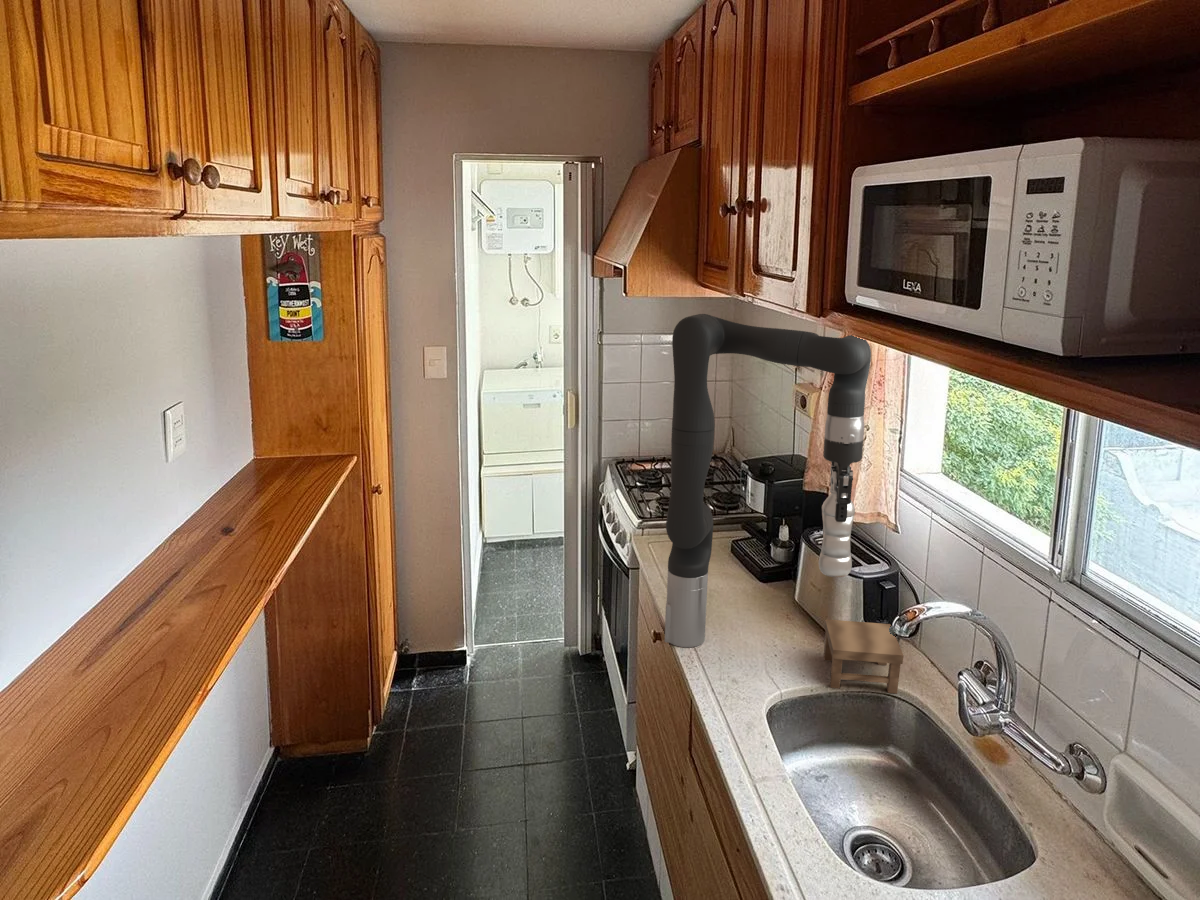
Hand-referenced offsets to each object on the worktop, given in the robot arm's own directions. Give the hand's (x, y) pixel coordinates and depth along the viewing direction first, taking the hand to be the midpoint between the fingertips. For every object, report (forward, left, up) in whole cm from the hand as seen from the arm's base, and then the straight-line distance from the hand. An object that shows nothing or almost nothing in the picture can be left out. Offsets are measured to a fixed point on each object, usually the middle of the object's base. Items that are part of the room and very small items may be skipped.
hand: (838, 515), depth 170 cm
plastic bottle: (0, 0, -13) cm, 13 cm away
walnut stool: (+8, +1, -36) cm, 37 cm away
